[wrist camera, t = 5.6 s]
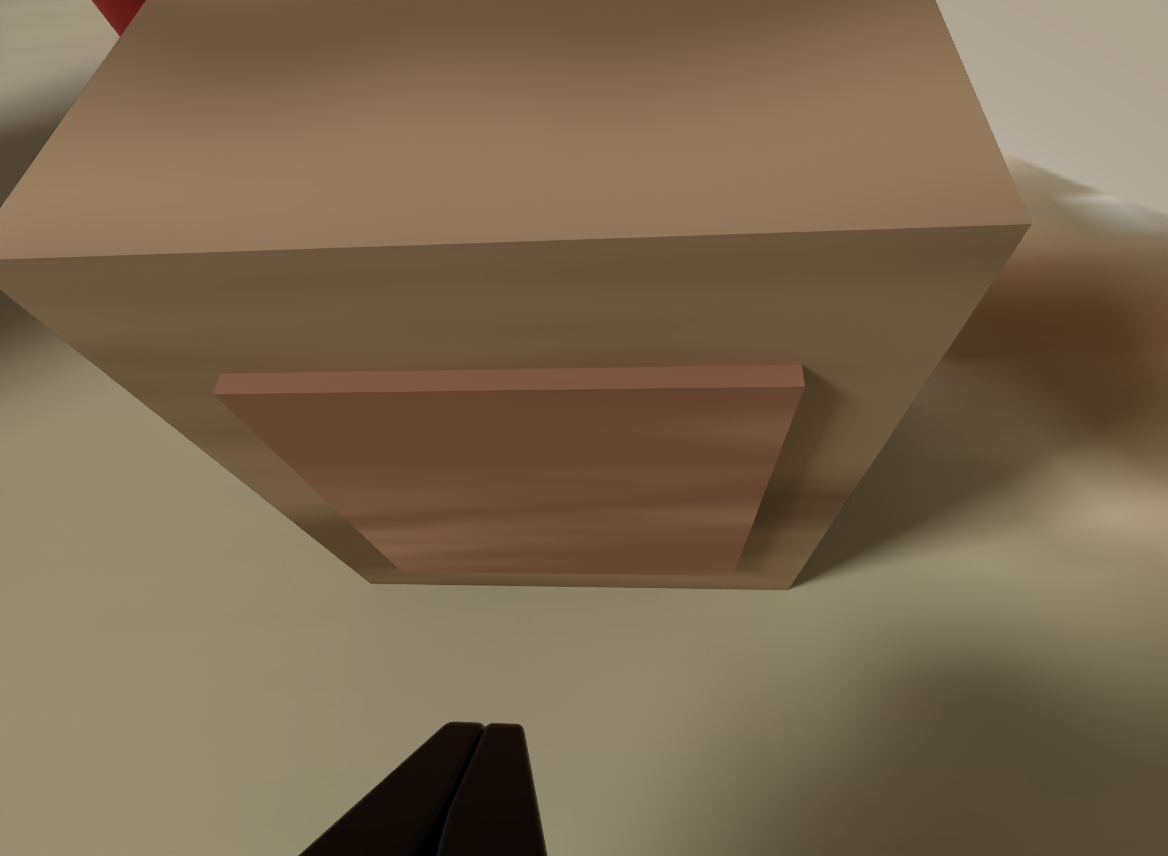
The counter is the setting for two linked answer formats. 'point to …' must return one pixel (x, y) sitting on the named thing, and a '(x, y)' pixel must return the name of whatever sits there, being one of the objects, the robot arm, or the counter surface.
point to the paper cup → (119, 12)
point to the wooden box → (525, 267)
